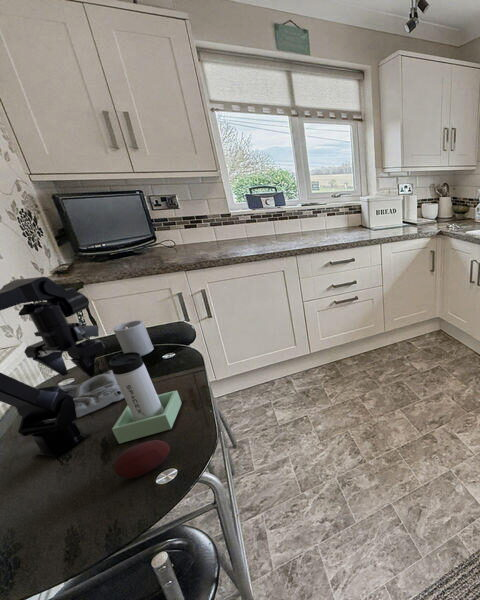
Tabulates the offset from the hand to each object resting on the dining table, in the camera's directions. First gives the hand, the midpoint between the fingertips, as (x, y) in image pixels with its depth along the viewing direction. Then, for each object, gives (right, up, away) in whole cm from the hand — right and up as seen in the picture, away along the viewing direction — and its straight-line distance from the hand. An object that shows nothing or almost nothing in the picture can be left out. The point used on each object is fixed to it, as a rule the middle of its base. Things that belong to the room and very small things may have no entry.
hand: (78, 375), depth 90 cm
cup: (-15, 0, +40) cm, 43 cm away
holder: (+21, -12, -1) cm, 25 cm away
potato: (+32, -18, -16) cm, 40 cm away
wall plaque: (-9, -10, +13) cm, 19 cm away
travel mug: (+21, -12, -1) cm, 24 cm away
